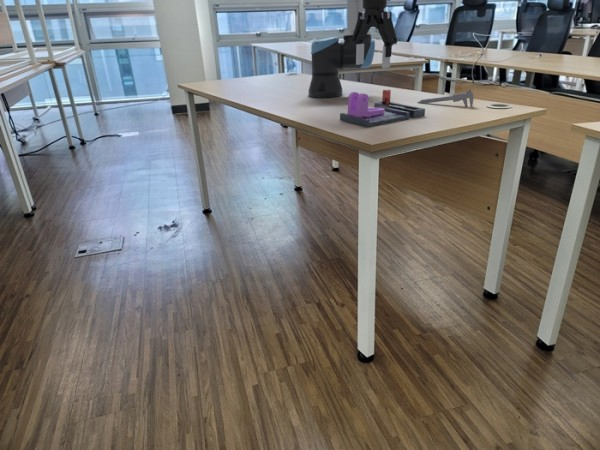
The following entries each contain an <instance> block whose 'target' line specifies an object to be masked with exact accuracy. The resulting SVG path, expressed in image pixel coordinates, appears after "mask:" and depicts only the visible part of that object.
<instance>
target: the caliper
mask: <svg viewBox="0 0 600 450" xmlns="http://www.w3.org/2000/svg"><path fill="white" fill-rule="evenodd" d="M474 98H475V97H474V92H473V91H472V90H471V88H470V89H469V90H468V89H466V90H465V92H461V93H456V94H455V93H454V94H452V95H448V96H441V97H433V98H426V99H425V98H424V99H420V101H417V104H424V103H425V104H431V103H439V102H440V103H441V102H448V101H452V102H453V103H455V102H457V103H458V102H460V101H462V102H463V105H464V107H466V108H467V107H468V99H469V107H473V104H474Z"/></svg>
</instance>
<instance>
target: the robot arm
mask: <svg viewBox="0 0 600 450" xmlns="http://www.w3.org/2000/svg"><path fill="white" fill-rule="evenodd" d="M387 1H388V0H346V32H345V33H344V34H343V37H342V38H343V39H341V40H340V38H339V36H332V37H331V36H330V37H326V38H325V37H324V38H320V39H317V40H314V41H313V42H312V43H311V49H310V50H311V52H310V54H311V80H310V83H309V87H308V96H309V97H312V98H324V99H325V98H334V97H340V96H343V87H342V83H341V80H340V75H339V72H340V71H339V70H354V69H359V70H362V69H368V68H370V67H371V65H372V63H373V61H374V56H375V49H376V41H375V38H372V33H371V32H370V30H371V28H375V29H376V30H377V32H378V33H379V36H380V38H381V40H382V42H383V46H382V54H381V55H382V59H381V68H382V69H387V68H388V69H389V68H390V67H391V58H392V51H393V50H392V49H393V46H394V45H397V43H398V39H397V33H396V30H395V26H394V22H393V19H392V17H393V16H392V15H393V14H392V11H391V10H388V11H387V10H386V11H385V9H386V7H387V5H388V3H387Z"/></svg>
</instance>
